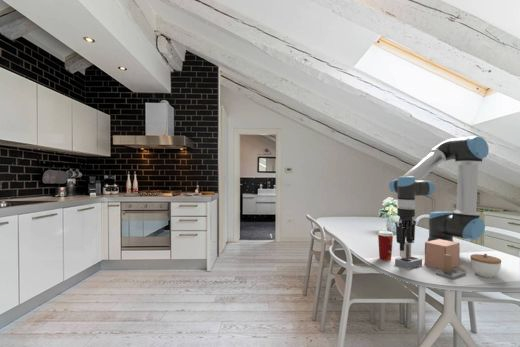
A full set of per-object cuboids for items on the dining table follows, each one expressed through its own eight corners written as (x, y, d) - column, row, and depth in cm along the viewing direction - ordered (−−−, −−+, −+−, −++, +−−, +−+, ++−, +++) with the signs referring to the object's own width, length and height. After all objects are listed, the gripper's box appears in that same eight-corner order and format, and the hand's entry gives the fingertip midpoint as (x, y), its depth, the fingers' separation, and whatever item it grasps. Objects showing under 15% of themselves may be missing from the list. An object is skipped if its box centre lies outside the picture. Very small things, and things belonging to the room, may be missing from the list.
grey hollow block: (408, 261, 144) (408, 255, 144) (421, 265, 138) (422, 259, 138) (395, 264, 138) (395, 258, 138) (408, 269, 132) (408, 262, 132)
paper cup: (395, 261, 143) (395, 234, 143) (378, 260, 145) (379, 233, 144) (391, 257, 151) (391, 231, 151) (375, 256, 152) (376, 230, 152)
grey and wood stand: (448, 270, 131) (448, 250, 131) (465, 274, 125) (465, 254, 125) (435, 274, 125) (436, 254, 125) (453, 279, 120) (453, 258, 119)
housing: (439, 260, 146) (439, 239, 146) (459, 265, 138) (459, 242, 138) (424, 264, 139) (424, 242, 139) (445, 270, 131) (445, 246, 131)
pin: (404, 263, 139) (404, 243, 138) (409, 265, 136) (409, 244, 136) (400, 264, 137) (400, 244, 137) (406, 266, 135) (406, 245, 135)
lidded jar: (507, 280, 119) (507, 258, 119) (478, 278, 121) (479, 256, 121) (491, 271, 130) (491, 251, 130) (465, 270, 131) (465, 250, 131)
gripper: (408, 206, 144) (408, 252, 144) (388, 208, 135) (387, 257, 135) (423, 208, 138) (422, 256, 138) (403, 210, 129) (402, 261, 129)
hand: (405, 256), depth 136 cm, fingers open, 4 cm apart
